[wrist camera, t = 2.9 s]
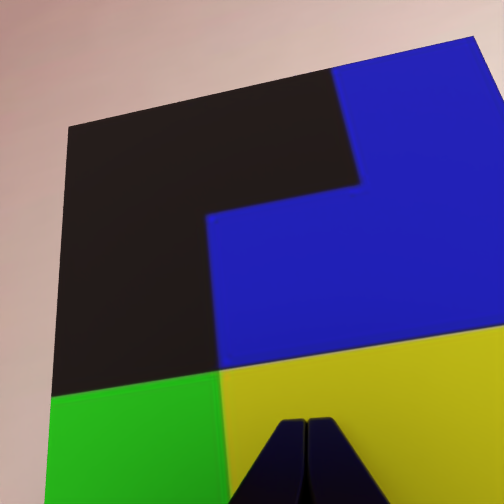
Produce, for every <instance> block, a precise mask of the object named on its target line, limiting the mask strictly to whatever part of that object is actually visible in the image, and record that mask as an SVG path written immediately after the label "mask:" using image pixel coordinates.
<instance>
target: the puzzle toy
mask: <svg viewBox="0 0 504 504" xmlns="http://www.w3.org/2000/svg"><path fill="white" fill-rule="evenodd" d="M314 417H332V418H333V419H334V420H335V421H336V422H337V424H338V425H339V427H340V428H341V430H342V431H343V433H344V434H345V436H346V437H347V439H348V440H349V442H350V443H351V445H352V446H353V448H354V449H355V451H356V452H357V454H358V455H359V457H360V458H361V460H362V461H363V463H364V464H365V466H366V467H367V469H368V470H369V472H370V473H371V475H372V476H373V478H374V479H375V481H376V482H377V484H378V485H379V487H380V488H381V490H382V491H383V493H384V494H385V496H386V497H387V499H388V500H389V502H390V503H391V504H504V100H503V98H502V96H501V94H500V92H499V90H498V88H497V85H496V83H495V81H494V79H493V77H492V75H491V72H490V70H489V68H488V66H487V64H486V62H485V60H484V57H483V55H482V53H481V51H480V49H479V47H478V45H477V42H476V40H475V38H474V36H471V37H466V38H462V39H457V40H453V41H448V42H444V43H439V44H435V45H431V46H426V47H422V48H417V49H413V50H408V51H404V52H399V53H395V54H391V55H386V56H382V57H377V58H373V59H368V60H364V61H359V62H355V63H350V64H346V65H342V66H337V67H333V68H328V69H324V70H319V71H315V72H310V73H306V74H301V75H297V76H293V77H288V78H284V79H279V80H275V81H270V82H266V83H261V84H257V85H253V86H248V87H244V88H239V89H235V90H230V91H226V92H221V93H217V94H212V95H208V96H204V97H199V98H195V99H190V100H186V101H181V102H177V103H172V104H168V105H163V106H159V107H155V108H150V109H146V110H141V111H137V112H132V113H128V114H123V115H119V116H115V117H110V118H106V119H101V120H97V121H92V122H88V123H83V124H79V125H74V126H70V127H69V128H68V143H67V159H66V175H65V190H64V206H63V221H62V237H61V253H60V268H59V284H58V299H57V315H56V331H55V346H54V362H53V377H52V393H51V409H50V424H49V440H48V455H47V471H46V487H45V502H44V504H228V502H229V501H230V499H231V498H232V496H233V494H234V493H235V491H236V490H237V488H238V487H239V485H240V483H241V482H242V480H243V479H244V477H245V476H246V474H247V472H248V471H249V469H250V468H251V466H252V465H253V463H254V461H255V460H256V458H257V457H258V455H259V454H260V452H261V450H262V449H263V447H264V446H265V444H266V442H267V441H268V439H269V438H270V436H271V435H272V433H273V431H274V430H275V428H276V427H277V425H278V424H279V422H280V421H281V420H283V419H296V418H304V419H305V420H306V421H308V419H309V418H314Z"/></svg>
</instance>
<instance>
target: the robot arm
mask: <svg viewBox="0 0 504 504" xmlns="http://www.w3.org/2000/svg"><path fill="white" fill-rule="evenodd" d="M228 504H391V503H390V502H389V500H388V499H387V497H386V496H385V494H384V493H383V491H382V490H381V488H380V487H379V485H378V484H377V482H376V481H375V479H374V478H373V476H372V475H371V473H370V472H369V470H368V469H367V467H366V466H365V464H364V463H363V461H362V460H361V458H360V457H359V455H358V454H357V452H356V451H355V449H354V448H353V446H352V445H351V443H350V442H349V440H348V439H347V437H346V436H345V434H344V433H343V431H342V430H341V428H340V427H339V425H338V424H337V422H336V421H335V420H334V419H333V418H332V417H314V418H309V419H308V421H306V420H305V419H304V418H296V419H283V420H281V421H280V422H279V424H278V425H277V427H276V428H275V430H274V431H273V433H272V435H271V436H270V438H269V439H268V441H267V442H266V444H265V446H264V447H263V449H262V450H261V452H260V454H259V455H258V457H257V458H256V460H255V461H254V463H253V465H252V466H251V468H250V469H249V471H248V472H247V474H246V476H245V477H244V479H243V480H242V482H241V483H240V485H239V487H238V488H237V490H236V491H235V493H234V494H233V496H232V498H231V499H230V501H229V502H228Z"/></svg>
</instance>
